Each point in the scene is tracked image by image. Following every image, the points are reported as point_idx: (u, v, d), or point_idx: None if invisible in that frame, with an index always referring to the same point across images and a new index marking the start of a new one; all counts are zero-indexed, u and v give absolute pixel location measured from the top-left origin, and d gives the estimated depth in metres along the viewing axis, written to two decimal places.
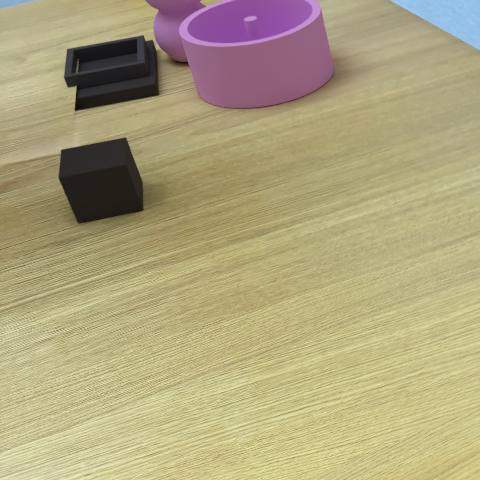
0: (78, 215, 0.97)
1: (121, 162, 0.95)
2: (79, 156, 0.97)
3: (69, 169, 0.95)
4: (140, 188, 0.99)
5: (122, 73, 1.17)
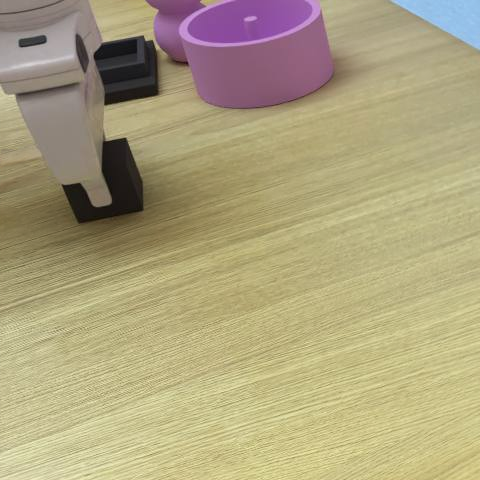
0: (79, 215, 0.97)
1: (121, 162, 0.95)
2: None
3: None
4: (140, 188, 1.00)
5: (122, 73, 1.17)
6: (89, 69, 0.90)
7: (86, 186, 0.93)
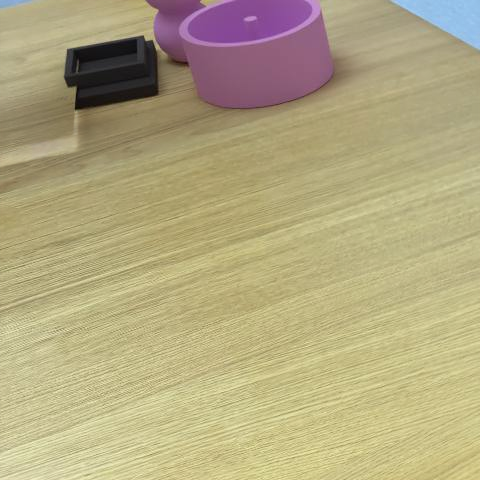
0: None
1: None
2: None
3: None
4: None
5: (122, 73, 1.17)
6: None
7: None
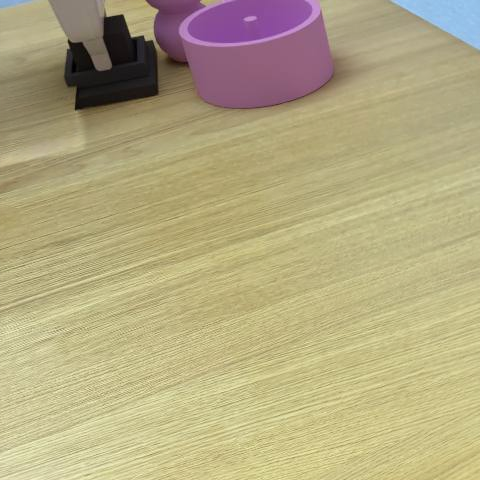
0: None
1: (119, 30, 1.15)
2: None
3: None
4: (135, 57, 1.20)
5: (122, 73, 1.17)
6: None
7: (91, 51, 1.14)
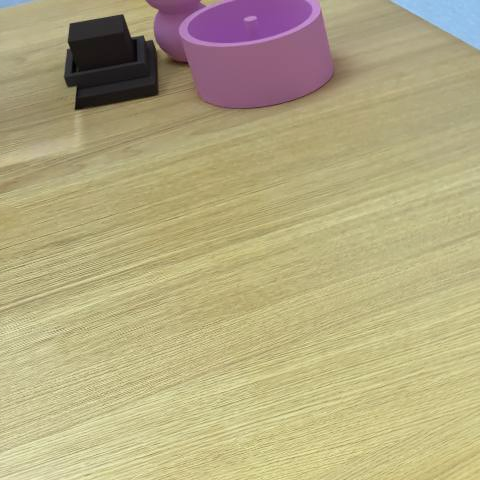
0: None
1: (119, 30, 1.15)
2: (84, 27, 1.17)
3: (76, 36, 1.15)
4: (135, 57, 1.20)
5: (122, 73, 1.17)
6: None
7: None
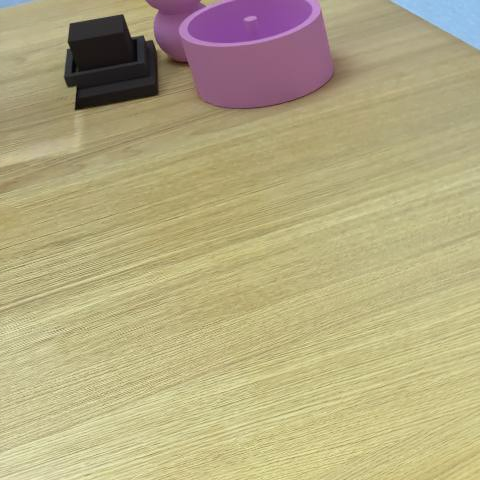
0: None
1: (119, 30, 1.15)
2: (84, 27, 1.17)
3: (76, 36, 1.15)
4: (135, 57, 1.20)
5: (122, 73, 1.17)
6: None
7: None
